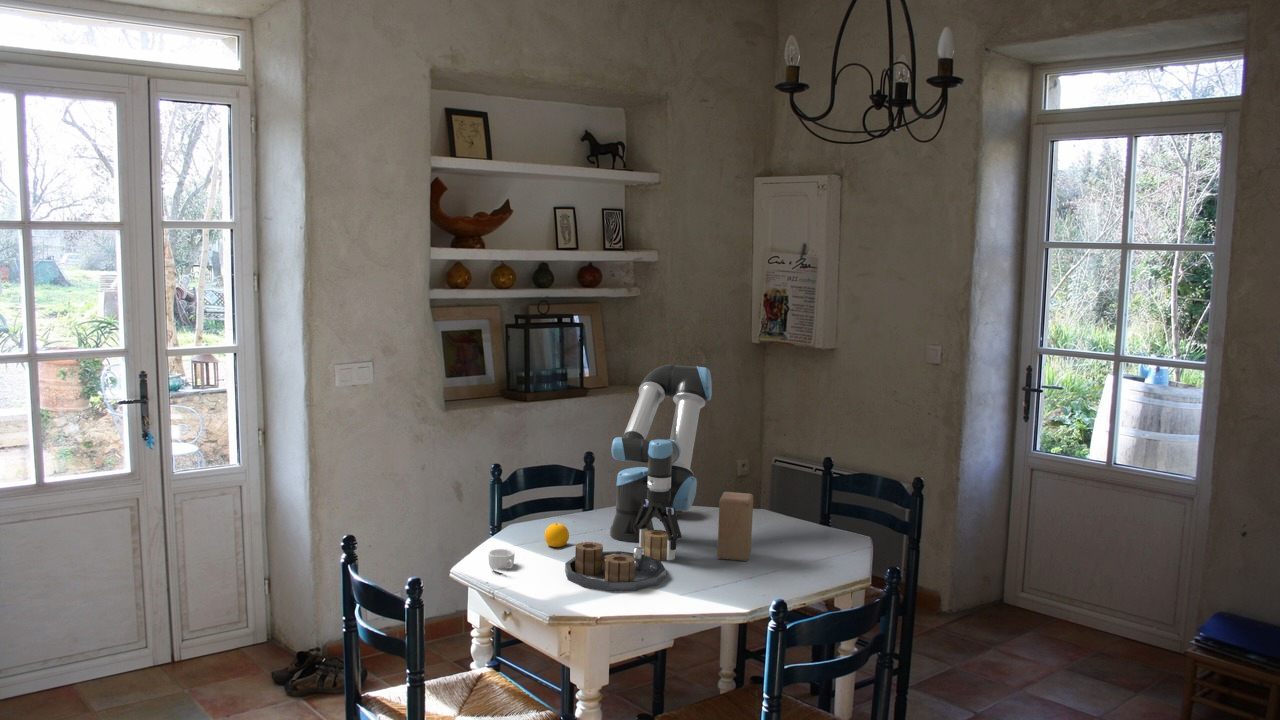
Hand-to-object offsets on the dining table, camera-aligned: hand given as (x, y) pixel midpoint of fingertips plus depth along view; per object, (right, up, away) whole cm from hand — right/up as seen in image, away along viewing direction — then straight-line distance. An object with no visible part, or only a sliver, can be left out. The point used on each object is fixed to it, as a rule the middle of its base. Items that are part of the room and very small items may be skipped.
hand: (656, 553), depth 315 cm
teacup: (-46, -2, -19) cm, 50 cm away
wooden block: (+25, -2, +3) cm, 25 cm away
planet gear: (0, -1, 0) cm, 1 cm away
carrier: (-13, -3, -24) cm, 27 cm away
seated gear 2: (-11, -2, -32) cm, 34 cm away
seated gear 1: (-21, -1, -21) cm, 29 cm away
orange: (-33, +1, +8) cm, 34 cm away
